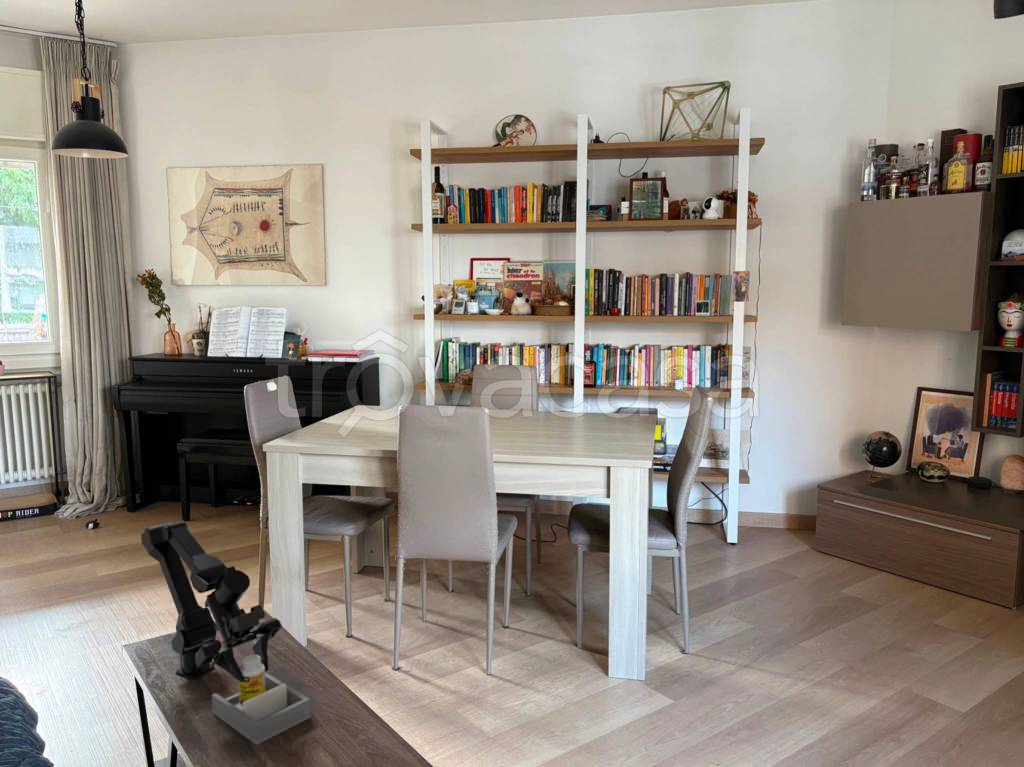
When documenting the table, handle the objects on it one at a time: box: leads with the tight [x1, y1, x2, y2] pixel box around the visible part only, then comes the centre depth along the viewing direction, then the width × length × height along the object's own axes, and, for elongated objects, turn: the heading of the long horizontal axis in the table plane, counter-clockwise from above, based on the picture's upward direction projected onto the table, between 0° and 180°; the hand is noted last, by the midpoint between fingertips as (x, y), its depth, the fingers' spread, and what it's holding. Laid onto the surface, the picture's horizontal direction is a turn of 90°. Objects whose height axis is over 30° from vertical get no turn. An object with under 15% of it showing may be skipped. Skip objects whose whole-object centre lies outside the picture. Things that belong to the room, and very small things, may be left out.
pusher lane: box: [211, 671, 311, 746], centre depth 164 cm, size 18×13×4 cm
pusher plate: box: [243, 683, 288, 721], centre depth 163 cm, size 1×10×5 cm, turn 140°
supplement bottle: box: [238, 654, 266, 706], centre depth 165 cm, size 6×6×10 cm
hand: (255, 675), depth 164 cm, fingers closed on supplement bottle, 5 cm apart
